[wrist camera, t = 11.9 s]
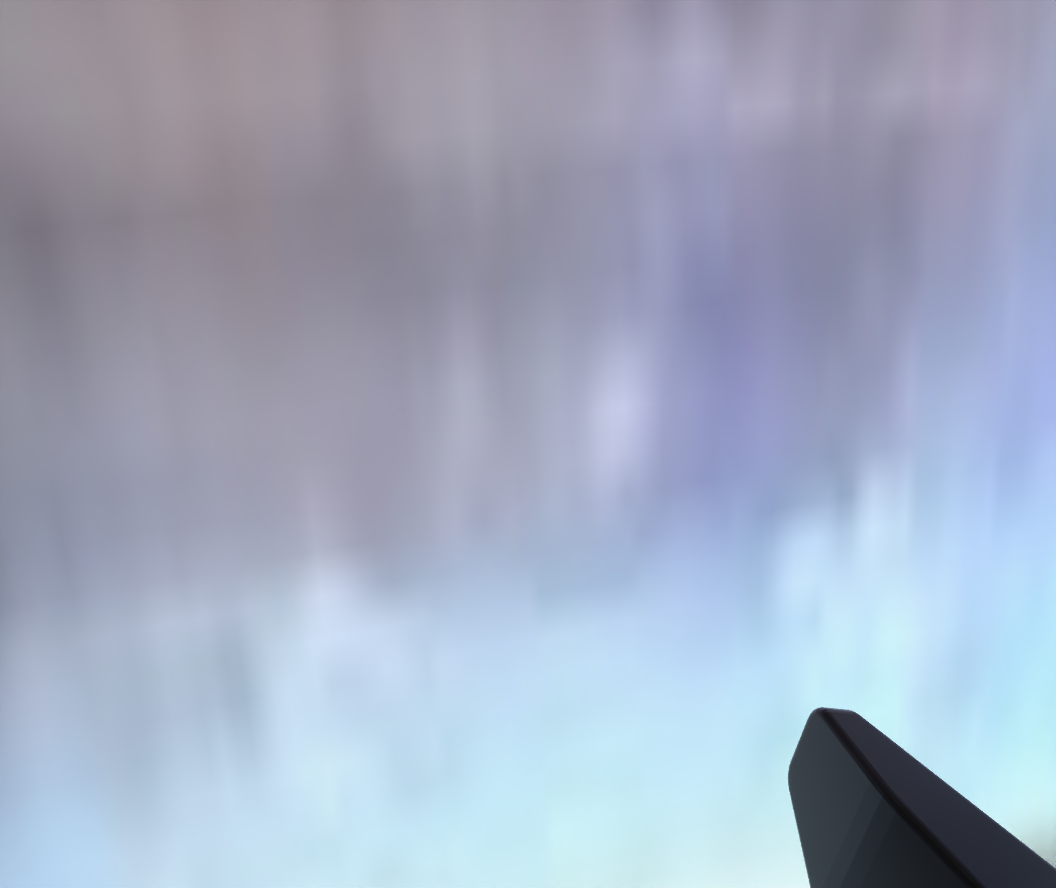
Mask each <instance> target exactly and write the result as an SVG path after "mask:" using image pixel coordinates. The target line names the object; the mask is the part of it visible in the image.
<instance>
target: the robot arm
mask: <svg viewBox="0 0 1056 888" xmlns="http://www.w3.org/2000/svg"><path fill="white" fill-rule="evenodd" d="M788 785H789V791H790V796H791V800H792V805H793V810H794V814H795V819H796V823H797V828H798V832H799V837H800V842H801V846H802V851H803V855H804V860H805V865H806V869H807V874H808V878H809V883H810V888H1056V869H1055V868H1054V867H1053V866H1052V865H1050V864H1049V863H1048V862H1046V861H1045V860H1044V859H1043V858H1041V857H1040V856H1039V855H1038V854H1036V853H1035V852H1034V851H1032V850H1031V849H1030V848H1029V847H1027V846H1026V845H1025V844H1023V843H1022V842H1021V841H1020V840H1018V839H1017V838H1016V837H1015V836H1013V835H1012V834H1011V833H1009V832H1008V831H1007V830H1006V829H1004V828H1003V827H1002V826H1000V825H999V824H998V823H997V822H995V821H994V820H993V819H992V818H990V817H989V816H988V815H986V814H985V813H984V812H983V811H981V810H980V809H979V808H977V807H976V806H975V805H974V804H972V803H971V802H970V801H969V800H967V799H966V798H965V797H963V796H962V795H961V794H960V793H958V792H957V791H956V790H954V789H953V788H952V787H951V786H949V785H948V784H947V783H946V782H944V781H943V780H942V779H940V778H939V777H938V776H937V775H935V774H934V773H933V772H932V771H930V770H929V769H928V768H926V767H925V766H924V765H923V764H921V763H920V762H919V761H917V760H916V759H915V758H914V757H912V756H911V755H910V754H909V753H907V752H906V751H905V750H903V749H902V748H901V747H900V746H898V745H897V744H896V743H894V742H893V741H892V740H891V739H889V738H888V737H887V736H886V735H884V734H883V733H882V732H880V731H879V730H878V729H877V728H875V727H874V726H873V725H871V724H870V723H869V722H868V721H866V720H865V719H864V718H863V717H861V716H860V715H859V714H857V713H856V712H853V711H850V710H844V709H834V708H824V707H822V708H818V709H815V710H814V711H813V712H812V713H811V714H810V716H809V718H808V720H807V722H806V725H805V727H804V730H803V732H802V735H801V737H800V740H799V742H798V745H797V747H796V750H795V752H794V755H793V757H792V760H791V763H790V766H789V772H788Z"/></svg>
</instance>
